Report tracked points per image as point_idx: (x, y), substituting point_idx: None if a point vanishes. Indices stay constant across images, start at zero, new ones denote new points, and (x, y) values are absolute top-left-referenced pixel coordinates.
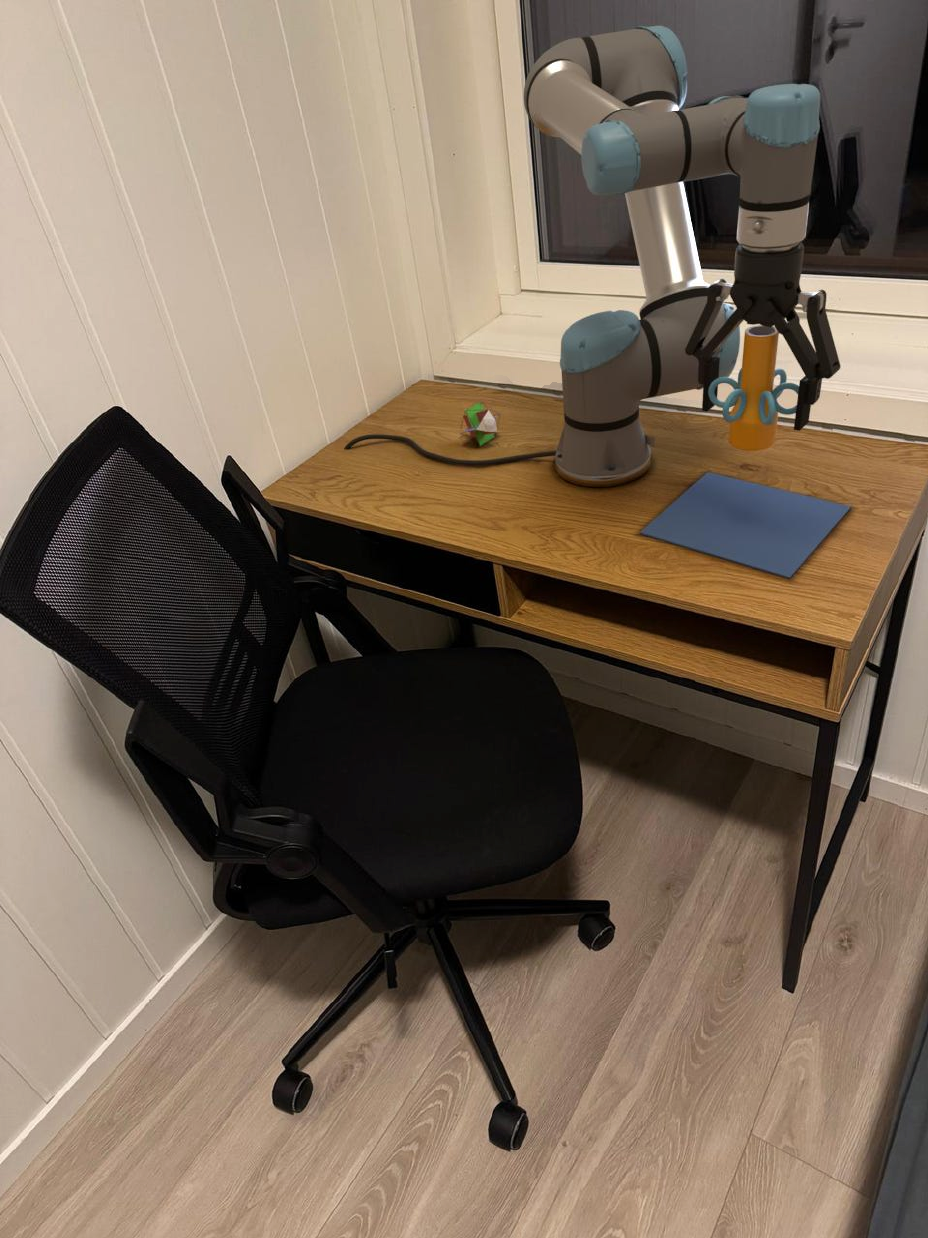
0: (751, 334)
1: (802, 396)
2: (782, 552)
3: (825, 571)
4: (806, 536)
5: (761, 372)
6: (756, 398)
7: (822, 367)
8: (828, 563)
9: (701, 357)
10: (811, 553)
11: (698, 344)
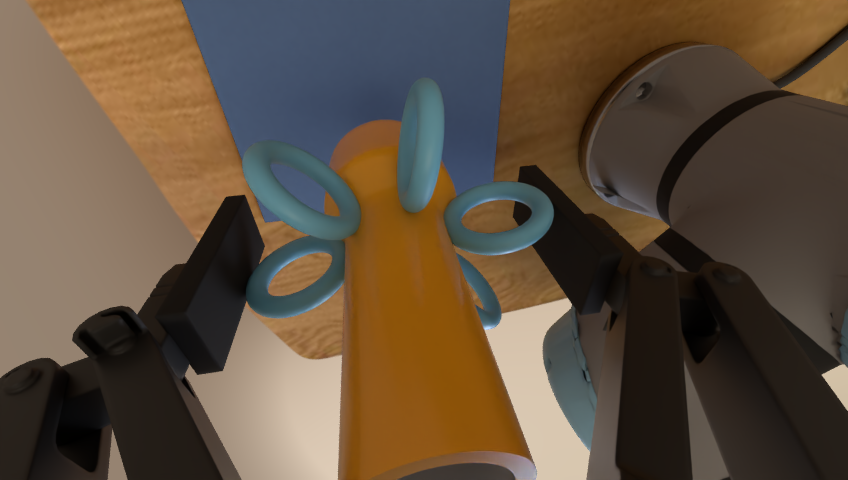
0: (473, 458)
1: (187, 267)
2: (244, 32)
3: (141, 20)
4: (252, 110)
5: (364, 288)
6: (369, 216)
7: (35, 403)
8: (161, 52)
9: (655, 267)
10: (206, 64)
11: (699, 322)
